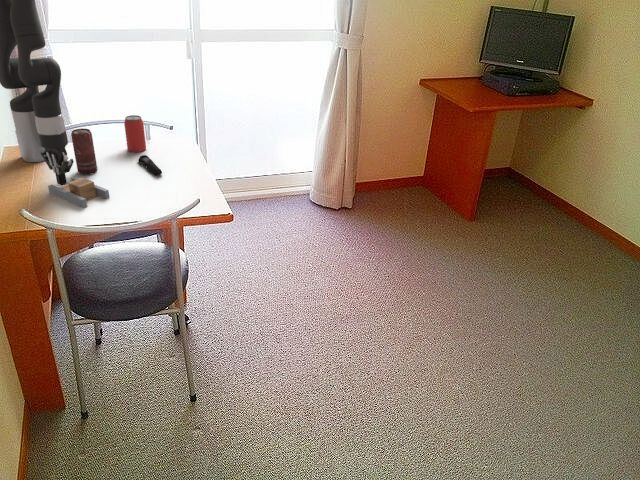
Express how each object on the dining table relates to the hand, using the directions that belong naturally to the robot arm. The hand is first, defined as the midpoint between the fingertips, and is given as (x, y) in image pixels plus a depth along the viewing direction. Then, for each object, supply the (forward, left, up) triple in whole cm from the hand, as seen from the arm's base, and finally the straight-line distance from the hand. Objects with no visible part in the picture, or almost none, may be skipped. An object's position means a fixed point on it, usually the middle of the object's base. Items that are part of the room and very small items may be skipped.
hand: (62, 184), depth 166 cm
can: (-5, +13, -2) cm, 14 cm away
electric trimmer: (+8, +28, -2) cm, 29 cm away
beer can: (-9, +37, -2) cm, 38 cm away
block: (+10, 0, -2) cm, 10 cm away
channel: (+8, 0, -2) cm, 8 cm away
